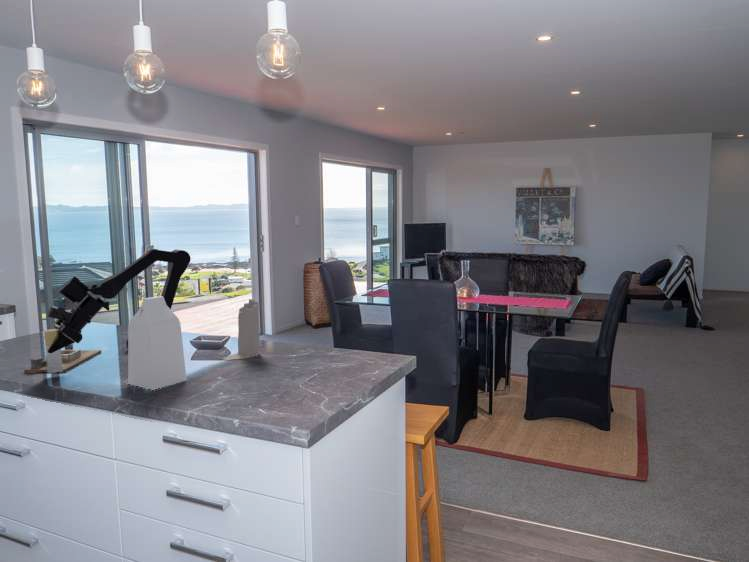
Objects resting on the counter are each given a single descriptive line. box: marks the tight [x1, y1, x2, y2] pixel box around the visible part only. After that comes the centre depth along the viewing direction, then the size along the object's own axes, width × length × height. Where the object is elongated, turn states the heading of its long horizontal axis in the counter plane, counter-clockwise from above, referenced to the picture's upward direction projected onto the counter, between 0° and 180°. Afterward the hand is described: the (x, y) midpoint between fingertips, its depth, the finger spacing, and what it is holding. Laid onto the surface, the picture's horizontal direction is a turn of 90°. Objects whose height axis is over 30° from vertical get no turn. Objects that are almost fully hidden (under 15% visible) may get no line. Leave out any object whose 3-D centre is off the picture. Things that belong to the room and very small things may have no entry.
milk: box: [127, 295, 187, 391], centre depth 171 cm, size 12×12×26 cm
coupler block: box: [43, 328, 63, 375], centre depth 177 cm, size 4×4×13 cm
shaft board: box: [23, 343, 102, 374], centre depth 196 cm, size 13×26×4 cm, turn 2°
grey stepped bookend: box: [221, 298, 261, 361], centre depth 202 cm, size 7×14×20 cm, turn 131°
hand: (48, 351), depth 176 cm, fingers closed on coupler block, 4 cm apart
